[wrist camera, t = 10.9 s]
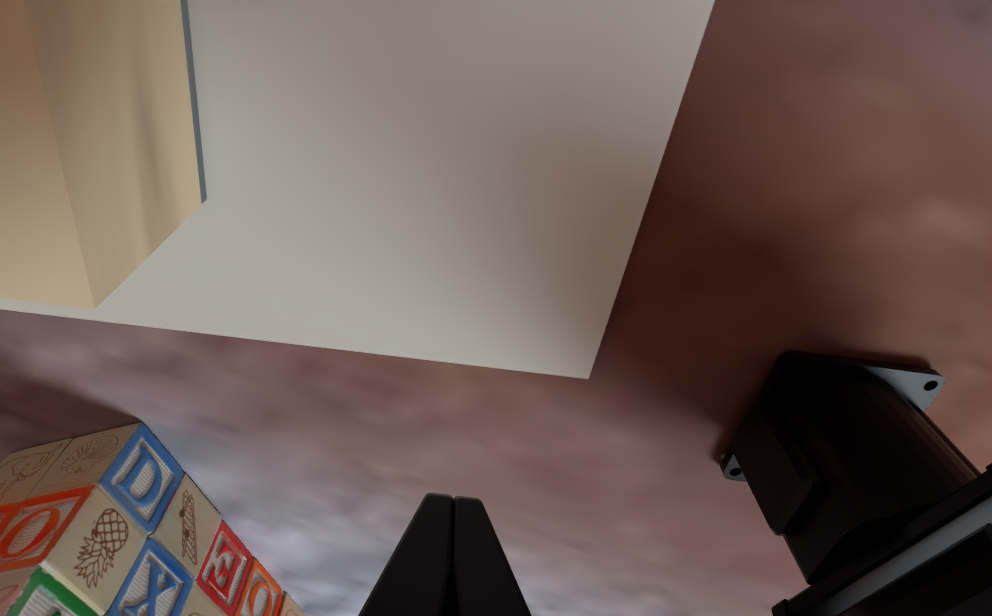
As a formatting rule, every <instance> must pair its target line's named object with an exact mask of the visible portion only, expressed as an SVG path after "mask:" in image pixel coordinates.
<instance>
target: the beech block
mask: <svg viewBox="0 0 992 616" xmlns="http://www.w3.org/2000/svg"><path fill="white" fill-rule="evenodd" d="M206 200H207V194H206V184H205V174H204V163H203V153H202V143H201V133H200V123H199V113H198V103H197V93H196V83H195V73H194V63H193V52H192V42H191V32H190V22H189V12H188V2H187V0H0V298H7V299H15V300H24V301H32V302H40V303H49V304H57V305H65V306H73V307H82V308H90V309H96V308H97V307H98V306H99V305H100V304H101V303H102V302H103V301H104V300H105V299H106V298H107V297H108V296H109V295H110V294H111V293H112V292H113V291H114V290H115V289H116V288H117V287H118V286H119V285H120V284H121V283H122V282H123V281H124V280H125V279H126V278H127V277H128V276H129V275H130V274H131V273H132V272H133V271H134V270H135V269H136V268H137V267H138V266H139V265H140V264H141V263H142V262H143V261H145V260H146V259H147V258H148V257H149V256H150V255H151V254H152V253H153V252H154V251H155V250H156V249H157V248H158V247H159V246H160V245H161V244H162V243H163V242H164V241H165V240H166V239H167V238H168V237H169V236H170V235H171V234H172V233H173V232H174V231H175V230H176V229H177V228H178V227H179V226H180V225H181V224H182V223H183V222H184V221H185V220H186V219H187V218H188V217H189V216H190V215H191V214H192V213H193V212H194V211H195V210H196V209H197V208H198V207H199V206H200V205H201V204H203V203H204V202H205V201H206Z"/></svg>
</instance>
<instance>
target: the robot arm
mask: <svg viewBox="0 0 992 616" xmlns="http://www.w3.org/2000/svg"><path fill="white" fill-rule="evenodd" d="M794 363H795V364H794ZM792 364H794V365H793V366H791V367H789V366H790V365H792ZM944 384H945V379H944V378H943V377H942V376H941V375H940V374H939V373H938V372H937V371H936V370H934V369H930V368H923V367H915V366H907V365H899V364H892V363H884V362H876V361H869V360H861V359H853V358H846V357H838V356H830V355H823V354H815V353H807V352H800V351H789V352H786V353H784V354H783V355H781V356H780V357H779V358H778V360H777V361H776V363H775V365H774V367H773V369H772V370H771V372H770V374H769V376H768V378H767V380H766V381H765V383H764V385H763V387H762V389H761V391H760V392H759V394H758V396H757V398H756V400H755V402H754V403H753V405H752V407H751V409H750V410H749V412H748V414H747V416H746V418H745V420H744V421H743V423H742V425H741V427H740V429H739V431H738V432H737V434H736V436H735V438H734V440H733V442H732V443H731V446H730V447H729V449H728V451H727V453H726V455H725V457H724V458H723V460H722V462H721V465H720V468H721V471H722V473H723V475H724V477H725V478H726V479H729V480H736V481H746V482H748V484H749V486H750V488H751V491H752V493H753V495H754V497H755V499H756V501H757V503H758V505H759V507H760V509H761V511H762V513H763V515H764V517H765V519H766V521H767V523H768V525H769V527H770V528H771V530H772V531H773V533H774V534H775V535H778V536H783V537H784V539H785V541H786V543H787V545H788V547H789V549H790V551H791V553H792V555H793V556H794V558H795V560H796V562H797V564H798V566H799V568H800V570H801V572H802V574H803V576H804V578H805V580H806V582H807V583H808V584H809V585H811V586H809V587H808V588H806V589H805V590H803V591H802V592H800V593H799V594H797V595H796V596H794V597H792V598H791V599H789V600H786V599H784V600H782V601H781V602H779V603H778V604H776V605H775V606H773V607H772V614H773V616H992V463H991V464H989V465H988V466H986V469H987V471H986V472H984V473H983V474H981V473H980V472H979V471H978V470H977V469H976V467H975V466H974V465H973V464H972V463H971V462H970V461H969V460H968V459H967V458H966V457H965V456H964V455H963V454H962V453H961V451H960V450H959V449H958V448H957V447H956V446H955V445H954V444H953V443H952V442H951V441H950V440H949V439H948V438H947V436H946V435H945V434H944V433H943V432H942V431H941V430H940V429H939V428H938V427H937V426H936V425H935V424H934V423H933V422H932V420H931V419H930V418H929V417H928V416H927V415H926V414H925V413H924V411H925V410H926V408H927V407H928V406H929V405H930V403H931V402H932V401H933V399H934V398H935V397H936V395H937V394H938V393H939V391H940V390H941V389H942V387H943V386H944ZM358 616H531V613H530V611H529V609H528V607H527V604H526V602H525V600H524V597H523V595H522V593H521V590H520V588H519V586H518V584H517V581H516V579H515V577H514V574H513V572H512V570H511V567H510V565H509V563H508V561H507V558H506V556H505V554H504V551H503V549H502V547H501V544H500V542H499V540H498V538H497V535H496V533H495V531H494V528H493V526H492V524H491V521H490V519H489V517H488V514H487V512H486V510H485V508H484V505H483V503H482V502H481V500H479V499H478V498H472V497H464V496H456V497H455V498H454V499H453V498H452V496H451V495H447V494H439V493H428V494H426V495H425V497H424V499H423V500H422V502H421V504H420V506H419V508H418V509H417V511H416V513H415V515H414V517H413V518H412V520H411V522H410V524H409V525H408V527H407V529H406V531H405V533H404V534H403V536H402V538H401V540H400V542H399V543H398V545H397V547H396V549H395V551H394V552H393V554H392V556H391V558H390V560H389V561H388V563H387V565H386V567H385V568H384V570H383V572H382V574H381V576H380V577H379V579H378V581H377V583H376V585H375V586H374V588H373V590H372V592H371V594H370V595H369V597H368V599H367V601H366V603H365V604H364V606H363V608H362V610H361V611H360V613H359V615H358Z"/></svg>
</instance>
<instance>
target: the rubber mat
mask: <svg viewBox="0 0 992 616" xmlns="http://www.w3.org/2000/svg"><path fill="white" fill-rule="evenodd" d="M714 1H715V0H187V2H188V12H189V22H190V32H191V42H192V52H193V63H194V73H195V83H196V93H197V103H198V113H199V123H200V133H201V143H202V153H203V163H204V174H205V184H206V194H207V200H206V201H205V202H204V203H203V204H201V205H200V206H199V207H198V208H197V209H196V210H195V211H194V212H193V213H192V214H191V215H190V216H189V217H188V218H187V219H186V220H185V221H184V222H183V223H182V224H181V225H180V226H179V227H178V228H177V229H176V230H175V231H174V232H173V233H172V234H171V235H170V236H169V237H168V238H167V239H166V240H165V241H164V242H163V243H162V244H161V245H160V246H159V247H158V248H157V249H156V250H155V251H154V252H153V253H152V254H151V255H150V256H149V257H148V258H147V259H146V260H145V261H143V262H142V263H141V264H140V265H139V266H138V267H137V268H136V269H135V270H134V271H133V272H132V273H131V274H130V275H129V276H128V277H127V278H126V279H125V280H124V281H123V282H122V283H121V284H120V285H119V286H118V287H117V288H116V289H115V290H114V291H113V292H112V293H111V294H110V295H109V296H108V297H107V298H106V299H105V300H104V301H103V302H102V303H101V304H100V305H99V306H98V307H97V308H96V309H90V308H82V307H73V306H65V305H57V304H49V303H40V302H32V301H24V300H15V299H7V298H0V309H3V310H11V311H20V312H28V313H37V314H45V315H54V316H62V317H70V318H79V319H87V320H96V321H104V322H112V323H121V324H129V325H138V326H146V327H155V328H163V329H171V330H180V331H188V332H197V333H205V334H214V335H222V336H230V337H239V338H247V339H256V340H264V341H272V342H281V343H289V344H298V345H306V346H315V347H323V348H331V349H340V350H348V351H357V352H365V353H374V354H382V355H390V356H399V357H407V358H416V359H424V360H432V361H441V362H449V363H458V364H466V365H475V366H483V367H491V368H500V369H508V370H517V371H525V372H534V373H542V374H550V375H559V376H567V377H576V378H584V379H589V376H590V373H591V370H592V367H593V364H594V361H595V358H596V355H597V352H598V349H599V346H600V343H601V340H602V337H603V334H604V331H605V328H606V325H607V322H608V319H609V316H610V313H611V310H612V307H613V304H614V301H615V298H616V295H617V292H618V289H619V286H620V283H621V280H622V277H623V274H624V271H625V268H626V265H627V262H628V259H629V256H630V253H631V250H632V247H633V244H634V241H635V238H636V235H637V232H638V229H639V226H640V223H641V220H642V217H643V214H644V211H645V208H646V205H647V202H648V199H649V196H650V193H651V190H652V187H653V184H654V181H655V178H656V175H657V172H658V169H659V166H660V163H661V160H662V157H663V154H664V151H665V148H666V145H667V142H668V139H669V136H670V133H671V130H672V127H673V124H674V121H675V118H676V115H677V112H678V109H679V106H680V103H681V100H682V97H683V94H684V91H685V88H686V85H687V82H688V79H689V76H690V73H691V70H692V67H693V64H694V61H695V58H696V55H697V52H698V49H699V46H700V43H701V40H702V37H703V34H704V31H705V28H706V25H707V22H708V19H709V16H710V13H711V10H712V7H713V4H714Z"/></svg>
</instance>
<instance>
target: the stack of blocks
mask: <svg viewBox="0 0 992 616" xmlns="http://www.w3.org/2000/svg"><path fill="white" fill-rule="evenodd" d="M221 519H222V518H221V515H220V514H219V513H218V512H217V510H216V509H215V508H214V507H213V506H212V505H211V503H210V502H209V501H208V500H207V499H206V497H205V496H204V495H203V494H202V493H201V491H200V490H199V489H198V488H197V487H196V485H195V484H194V483H193V482H192V481H191V479H190V478H189V477H188V476H187V475H186V474H185V473H184V472H183V470H182V468H181V467H180V466H179V465H178V463H177V462H176V461H175V460H174V459H173V458H172V456H171V455H170V454H169V453H168V451H167V450H166V449H165V448H164V447H163V446H162V445H161V444H160V443H159V441H158V440H157V439H156V438H155V437H154V436H153V434H152V433H151V432H150V430H149V429H148V428H147V427H146V426H145V425H144V424H143V423H136V424H132V425H127V426H123V427H118V428H114V429H110V430H106V431H102V432H97V433H93V434H89V435H85V436H81V437H78V438H75V439H72V438H69V439H65V440H61V441H57V442H52V443H48V444H44V445H41V446H36V447H32V448H28V449H24V450H21V451H17V452H14V453H12V454H10V455H8V456H7V457H6V458H5V459H4V460H3V461H2V462H1V463H0V616H306V615H305V613H304V612H303V611H302V610H301V609H300V607H299V606H298V605H297V604H296V602H295V601H294V600H293V599H292V598H291V596H290V595H289V594H288V593H286V592H284V591H283V590H282V589H281V587H280V586H279V585H278V584H277V583H276V582H275V581H274V580H273V579H272V577H271V576H270V575H269V573H268V572H267V571H266V570H265V569H264V568H263V566H262V565H261V564H260V563H259V562H258V560H257V559H255V558H253V557H252V554H251V553H250V552H249V551H248V550H247V549H246V547H245V546H244V545H243V543H242V542H241V541H240V540H239V539H238V537H237V536H236V535H235V534H234V533H233V532H232V530H231V529H230V528H229V527H228V526H227V525H226V523H225V522H224V521H222V520H221Z"/></svg>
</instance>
